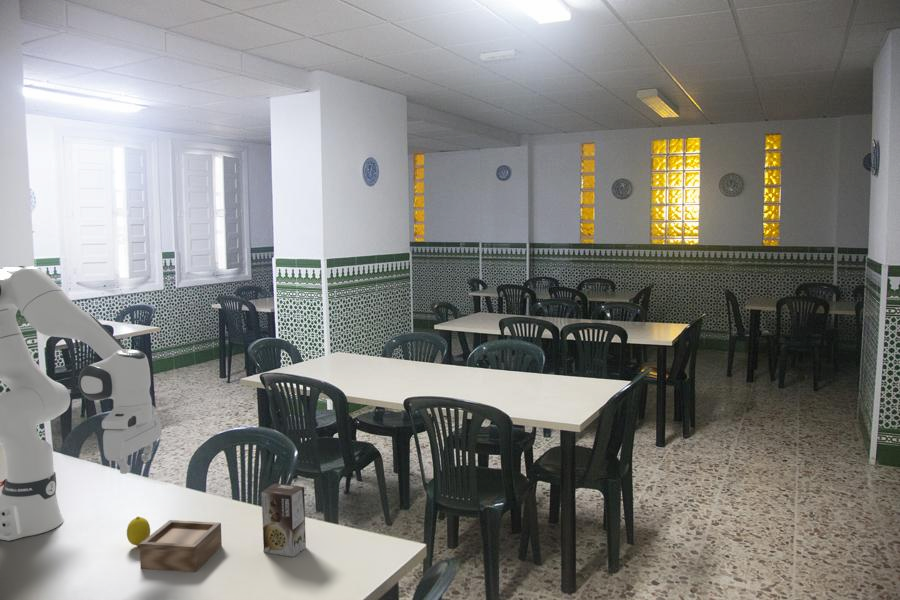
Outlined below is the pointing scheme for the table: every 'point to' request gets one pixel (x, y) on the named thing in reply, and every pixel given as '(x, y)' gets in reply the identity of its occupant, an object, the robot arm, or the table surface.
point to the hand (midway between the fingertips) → (136, 466)
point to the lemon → (138, 531)
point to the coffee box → (283, 519)
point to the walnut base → (180, 545)
